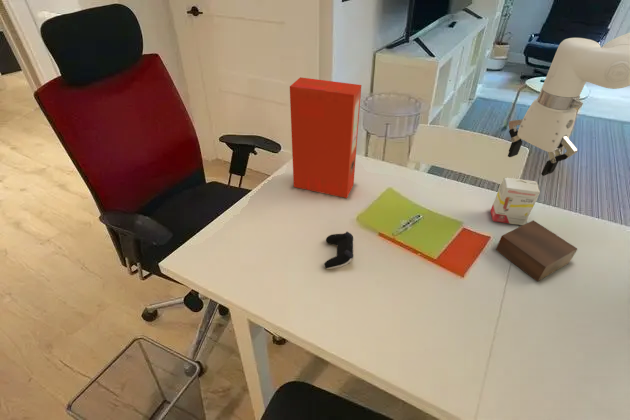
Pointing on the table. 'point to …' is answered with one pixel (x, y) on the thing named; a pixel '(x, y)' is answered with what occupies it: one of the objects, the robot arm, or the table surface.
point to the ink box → (514, 201)
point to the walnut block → (535, 250)
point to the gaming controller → (340, 250)
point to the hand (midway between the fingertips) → (528, 164)
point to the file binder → (324, 134)
